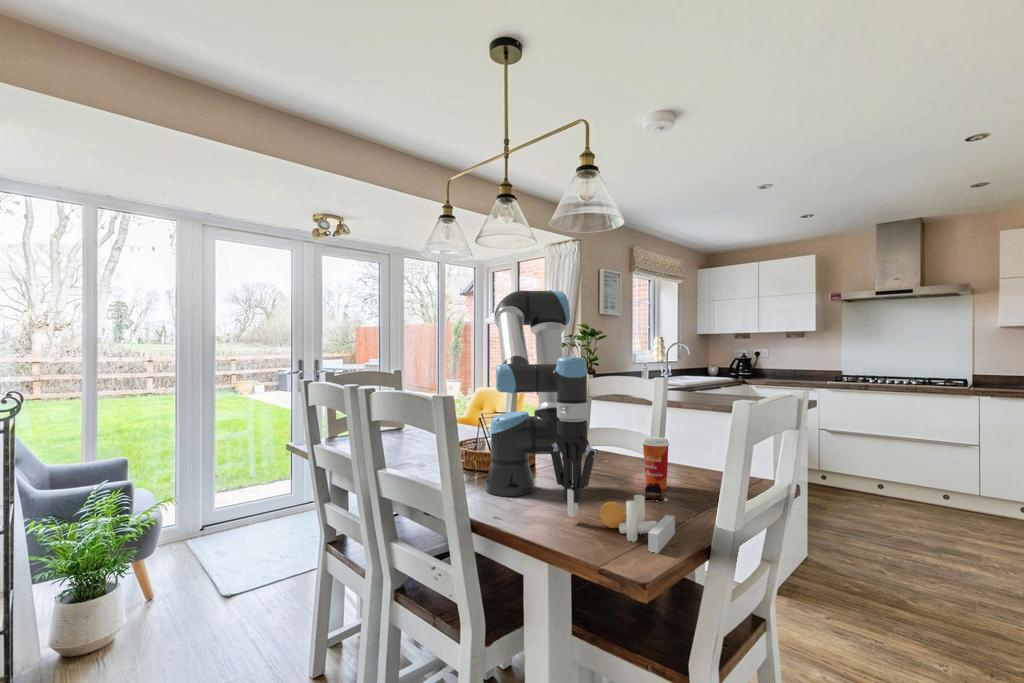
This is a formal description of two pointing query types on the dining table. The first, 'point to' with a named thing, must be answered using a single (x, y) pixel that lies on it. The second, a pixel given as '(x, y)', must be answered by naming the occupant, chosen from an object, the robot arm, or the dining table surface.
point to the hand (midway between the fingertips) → (572, 514)
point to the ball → (612, 514)
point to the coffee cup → (656, 460)
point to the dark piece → (653, 489)
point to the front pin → (639, 526)
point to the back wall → (661, 533)
